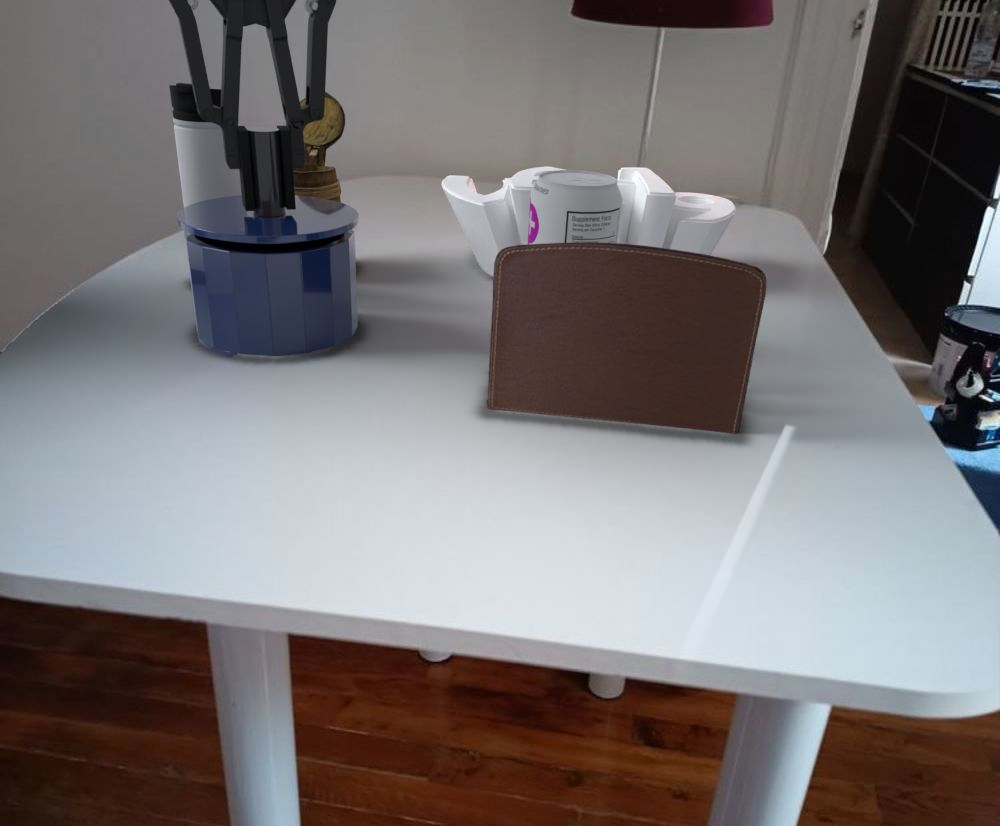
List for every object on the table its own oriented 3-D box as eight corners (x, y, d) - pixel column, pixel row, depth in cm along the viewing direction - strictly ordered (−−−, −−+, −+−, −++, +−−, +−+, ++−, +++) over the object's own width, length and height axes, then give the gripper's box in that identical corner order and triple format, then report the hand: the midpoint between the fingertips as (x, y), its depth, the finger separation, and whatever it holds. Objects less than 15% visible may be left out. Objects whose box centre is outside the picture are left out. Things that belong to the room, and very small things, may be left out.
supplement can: (512, 346, 86) (521, 181, 79) (535, 319, 93) (545, 165, 85) (596, 359, 84) (614, 191, 77) (613, 331, 91) (631, 174, 83)
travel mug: (180, 289, 96) (152, 81, 86) (212, 272, 102) (189, 75, 92) (235, 296, 95) (213, 86, 85) (263, 278, 101) (246, 80, 91)
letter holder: (738, 440, 71) (774, 259, 64) (485, 415, 73) (492, 236, 65) (728, 390, 79) (758, 225, 72) (502, 368, 81) (510, 206, 74)
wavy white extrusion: (431, 279, 103) (432, 182, 98) (444, 242, 117) (445, 155, 112) (741, 297, 103) (759, 200, 97) (716, 257, 117) (731, 171, 112)
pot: (163, 341, 83) (148, 236, 78) (264, 298, 95) (255, 205, 90) (296, 373, 78) (288, 263, 73) (385, 324, 90) (383, 226, 85)
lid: (139, 232, 78) (123, 130, 74) (255, 199, 90) (247, 110, 86) (290, 261, 73) (282, 152, 69) (391, 222, 85) (389, 128, 81)
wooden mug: (366, 250, 112) (362, 91, 103) (345, 283, 101) (338, 106, 92) (294, 246, 112) (283, 87, 103) (265, 278, 101) (250, 101, 92)
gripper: (131, -125, 63) (177, 220, 75) (357, -108, 68) (367, 213, 80) (129, -118, 69) (172, 200, 81) (337, -103, 74) (349, 194, 86)
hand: (268, 206), depth 81 cm, fingers closed on lid, 3 cm apart
